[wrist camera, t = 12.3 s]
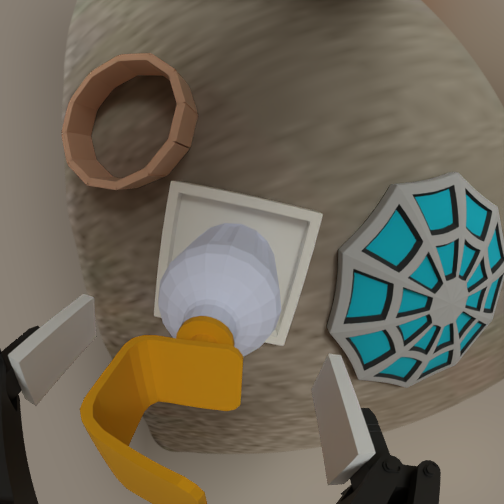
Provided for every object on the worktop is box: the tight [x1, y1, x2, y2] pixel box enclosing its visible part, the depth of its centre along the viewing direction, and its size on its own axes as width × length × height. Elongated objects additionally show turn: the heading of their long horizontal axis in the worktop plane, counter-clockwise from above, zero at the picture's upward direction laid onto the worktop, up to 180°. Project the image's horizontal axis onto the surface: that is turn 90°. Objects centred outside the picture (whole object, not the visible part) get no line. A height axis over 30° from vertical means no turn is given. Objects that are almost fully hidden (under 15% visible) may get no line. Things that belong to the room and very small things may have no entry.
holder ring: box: [62, 53, 198, 190], centre depth 24 cm, size 14×14×5 cm
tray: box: [154, 181, 323, 346], centre depth 28 cm, size 15×15×2 cm
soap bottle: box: [80, 223, 281, 504], centre depth 17 cm, size 9×9×25 cm
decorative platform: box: [327, 172, 504, 388], centre depth 28 cm, size 31×29×5 cm
